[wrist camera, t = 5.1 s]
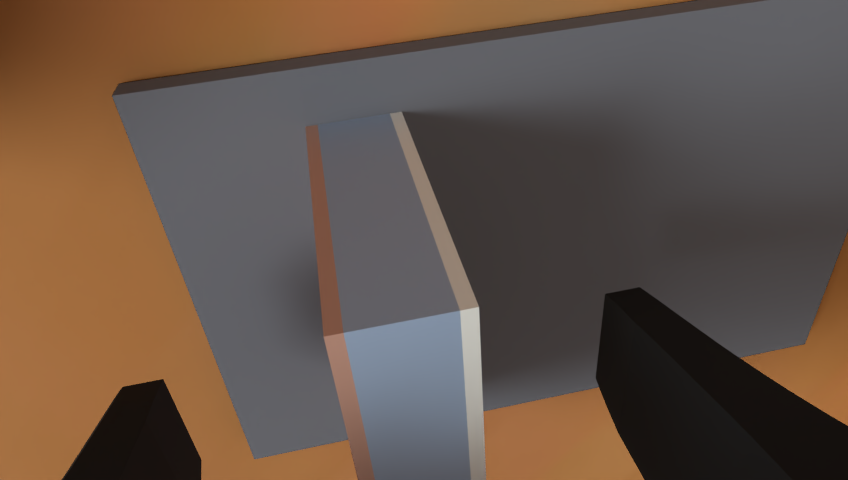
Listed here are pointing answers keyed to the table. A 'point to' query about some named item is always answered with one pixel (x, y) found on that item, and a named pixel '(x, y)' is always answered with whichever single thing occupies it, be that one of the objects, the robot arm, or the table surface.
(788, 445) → the robot arm
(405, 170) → the card deck
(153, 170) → the grey rectangular slab
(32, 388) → the table surface
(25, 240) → the table surface
